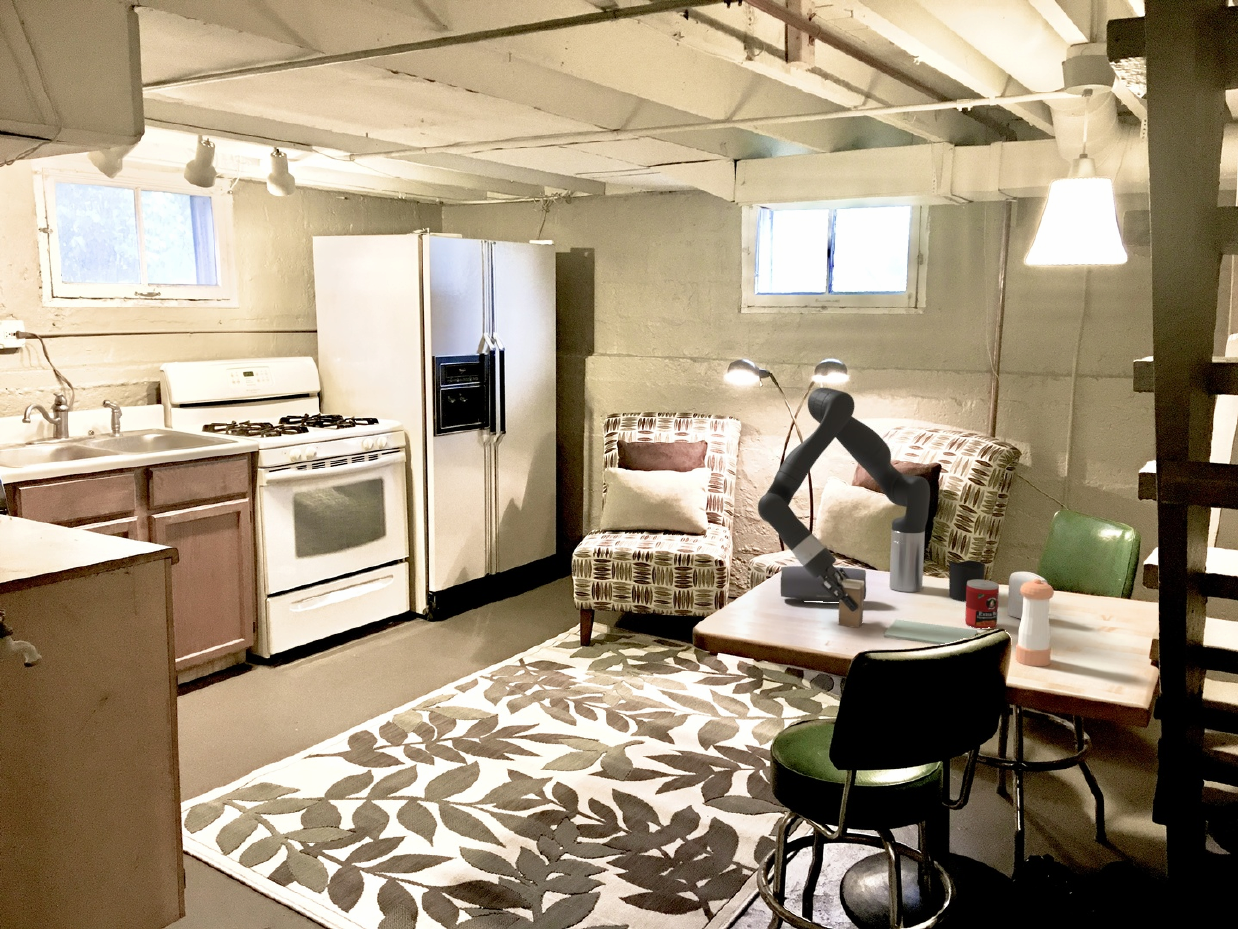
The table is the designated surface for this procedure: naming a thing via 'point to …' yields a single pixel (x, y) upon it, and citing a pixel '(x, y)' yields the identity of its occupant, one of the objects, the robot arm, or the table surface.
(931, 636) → the rubber mat
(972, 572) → the pen holder
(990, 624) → the canned food
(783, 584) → the bluetooth speaker
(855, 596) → the walnut block
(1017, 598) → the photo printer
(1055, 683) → the table surface
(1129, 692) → the table surface
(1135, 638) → the table surface
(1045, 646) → the salt shaker
